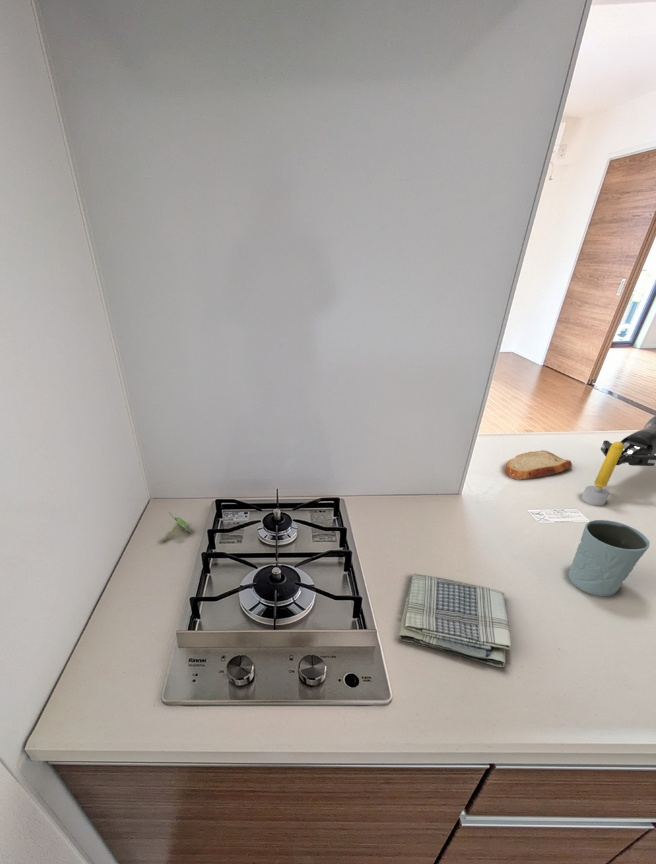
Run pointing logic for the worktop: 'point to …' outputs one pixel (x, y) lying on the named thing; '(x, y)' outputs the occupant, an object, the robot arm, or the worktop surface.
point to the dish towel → (456, 619)
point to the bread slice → (535, 465)
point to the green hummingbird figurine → (179, 521)
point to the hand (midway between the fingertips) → (612, 461)
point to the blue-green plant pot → (606, 556)
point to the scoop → (603, 477)
